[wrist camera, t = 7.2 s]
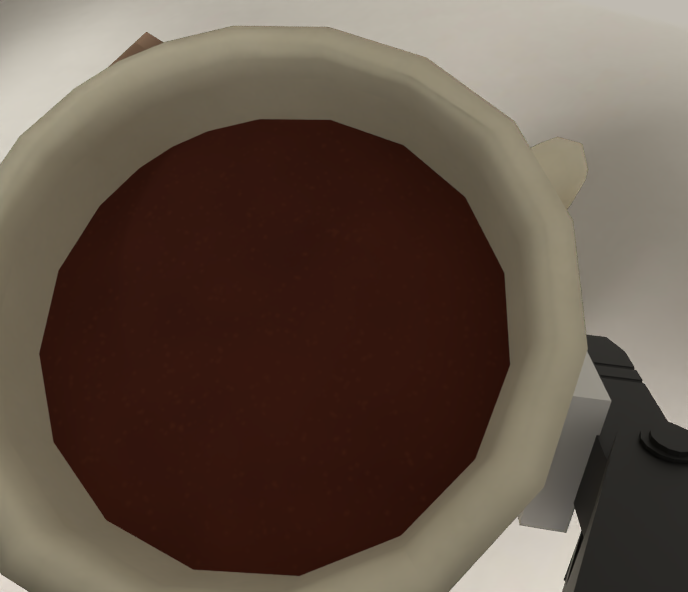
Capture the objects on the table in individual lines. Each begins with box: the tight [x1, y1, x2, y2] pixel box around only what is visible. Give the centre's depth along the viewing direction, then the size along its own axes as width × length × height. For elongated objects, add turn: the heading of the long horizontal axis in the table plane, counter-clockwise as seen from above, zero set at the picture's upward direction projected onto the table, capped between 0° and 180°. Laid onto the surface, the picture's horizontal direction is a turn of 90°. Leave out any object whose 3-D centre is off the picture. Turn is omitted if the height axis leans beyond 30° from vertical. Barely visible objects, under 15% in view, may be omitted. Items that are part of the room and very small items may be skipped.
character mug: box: [0, 26, 588, 592], centre depth 12 cm, size 11×7×13 cm, turn 121°
